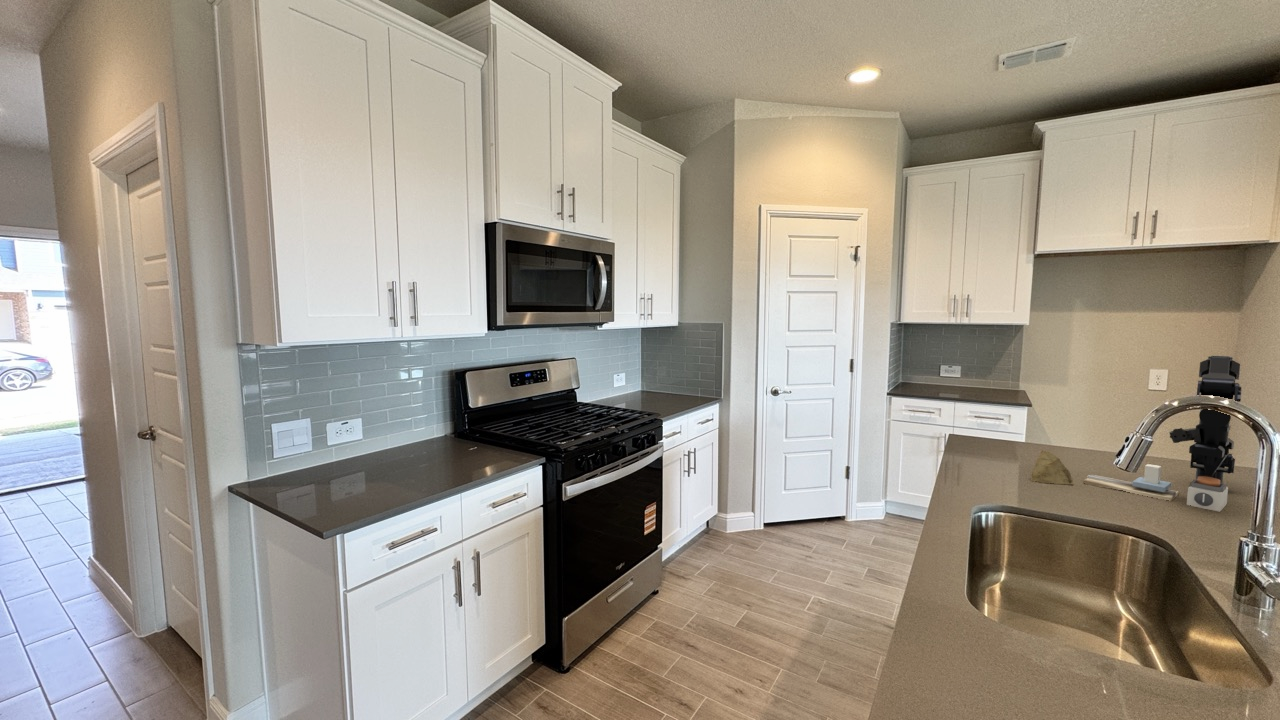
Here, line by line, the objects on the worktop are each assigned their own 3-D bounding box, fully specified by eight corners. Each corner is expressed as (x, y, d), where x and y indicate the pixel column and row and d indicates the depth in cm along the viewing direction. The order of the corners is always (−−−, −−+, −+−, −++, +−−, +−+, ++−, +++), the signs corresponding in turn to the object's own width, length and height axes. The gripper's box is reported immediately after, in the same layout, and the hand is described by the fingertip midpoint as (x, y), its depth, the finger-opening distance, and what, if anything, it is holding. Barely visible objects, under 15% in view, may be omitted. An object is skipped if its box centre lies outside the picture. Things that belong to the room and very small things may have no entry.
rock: (1080, 476, 167) (1044, 464, 175) (1079, 458, 163) (1042, 447, 171) (1065, 500, 164) (1028, 487, 172) (1063, 483, 160) (1026, 470, 168)
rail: (1093, 477, 173) (1093, 472, 172) (1178, 494, 156) (1178, 488, 156) (1083, 483, 167) (1083, 477, 167) (1170, 501, 151) (1170, 495, 150)
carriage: (1139, 481, 163) (1141, 461, 162) (1170, 487, 157) (1172, 466, 156) (1132, 485, 158) (1133, 465, 157) (1164, 492, 152) (1166, 471, 152)
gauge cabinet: (1194, 497, 154) (1196, 477, 153) (1226, 504, 148) (1228, 483, 148) (1186, 505, 148) (1188, 484, 147) (1219, 512, 142) (1221, 490, 142)
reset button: (1198, 480, 151) (1199, 475, 150) (1221, 484, 147) (1221, 479, 147) (1195, 482, 148) (1196, 478, 148) (1218, 486, 144) (1218, 482, 144)
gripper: (1181, 413, 158) (1176, 463, 159) (1166, 421, 147) (1161, 474, 149) (1236, 419, 149) (1231, 472, 150) (1224, 427, 138) (1219, 484, 140)
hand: (1209, 475), depth 147 cm, fingers closed
